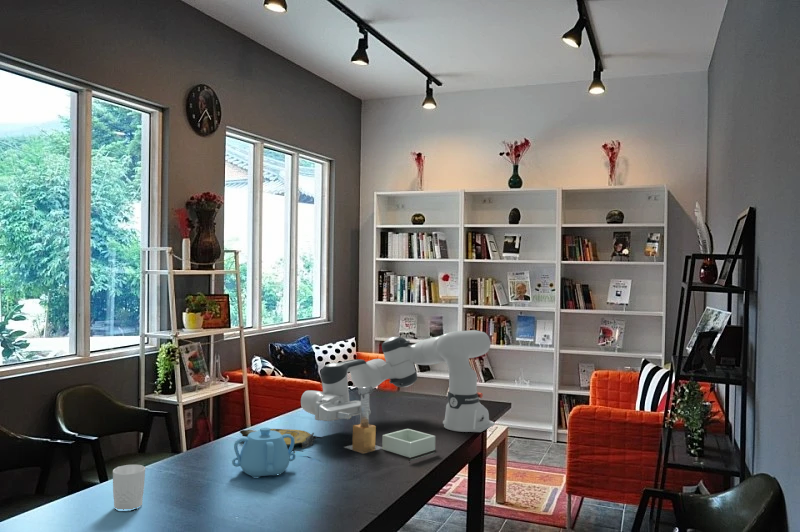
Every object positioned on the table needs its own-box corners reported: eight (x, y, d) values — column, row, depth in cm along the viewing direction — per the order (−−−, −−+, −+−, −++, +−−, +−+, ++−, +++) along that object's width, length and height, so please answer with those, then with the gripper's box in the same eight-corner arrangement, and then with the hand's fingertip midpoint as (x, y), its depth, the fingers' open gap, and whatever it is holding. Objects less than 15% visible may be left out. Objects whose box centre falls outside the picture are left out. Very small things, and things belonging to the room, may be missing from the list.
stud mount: (364, 445, 229) (364, 424, 229) (384, 451, 222) (384, 429, 222) (343, 450, 222) (343, 429, 222) (363, 457, 215) (363, 434, 215)
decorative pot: (225, 474, 194) (226, 430, 194) (261, 460, 208) (261, 419, 208) (267, 485, 186) (268, 438, 186) (301, 469, 201) (302, 426, 200)
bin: (407, 445, 230) (407, 428, 230) (434, 453, 222) (435, 436, 222) (382, 452, 221) (382, 435, 221) (410, 461, 212) (410, 443, 212)
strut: (363, 444, 226) (365, 385, 226) (375, 447, 222) (376, 387, 222) (352, 447, 222) (354, 387, 222) (363, 450, 218) (365, 389, 218)
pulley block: (254, 417, 239) (323, 428, 227) (255, 432, 240) (324, 443, 228) (229, 431, 226) (301, 444, 214) (230, 447, 227) (302, 460, 215)
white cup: (118, 501, 171) (118, 464, 171) (148, 501, 171) (149, 464, 171) (107, 513, 163) (108, 474, 163) (138, 513, 164) (139, 474, 164)
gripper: (353, 411, 240) (380, 418, 231) (311, 420, 225) (337, 428, 216) (354, 394, 240) (380, 401, 231) (312, 402, 225) (338, 409, 216)
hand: (359, 414), depth 223 cm, fingers open, 8 cm apart
